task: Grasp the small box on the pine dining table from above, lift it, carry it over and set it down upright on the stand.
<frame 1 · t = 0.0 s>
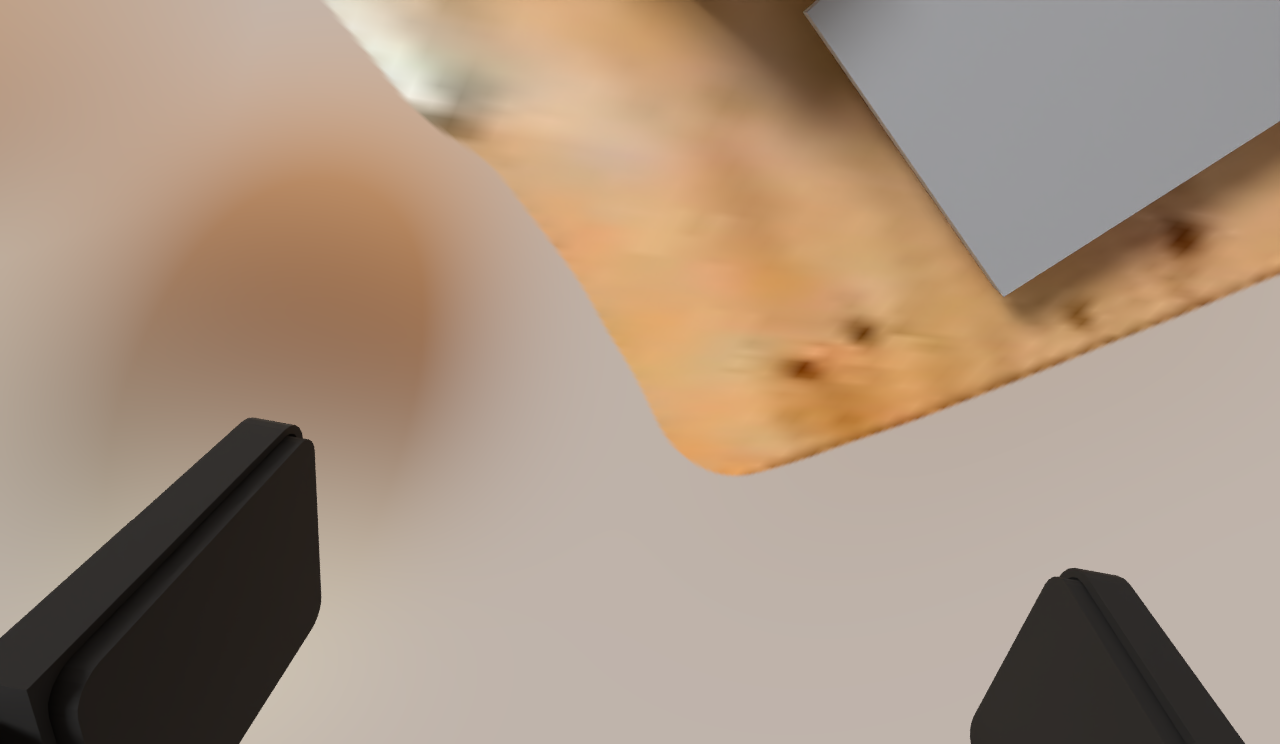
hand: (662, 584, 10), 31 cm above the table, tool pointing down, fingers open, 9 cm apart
stand: (1046, 32, 34), on the table
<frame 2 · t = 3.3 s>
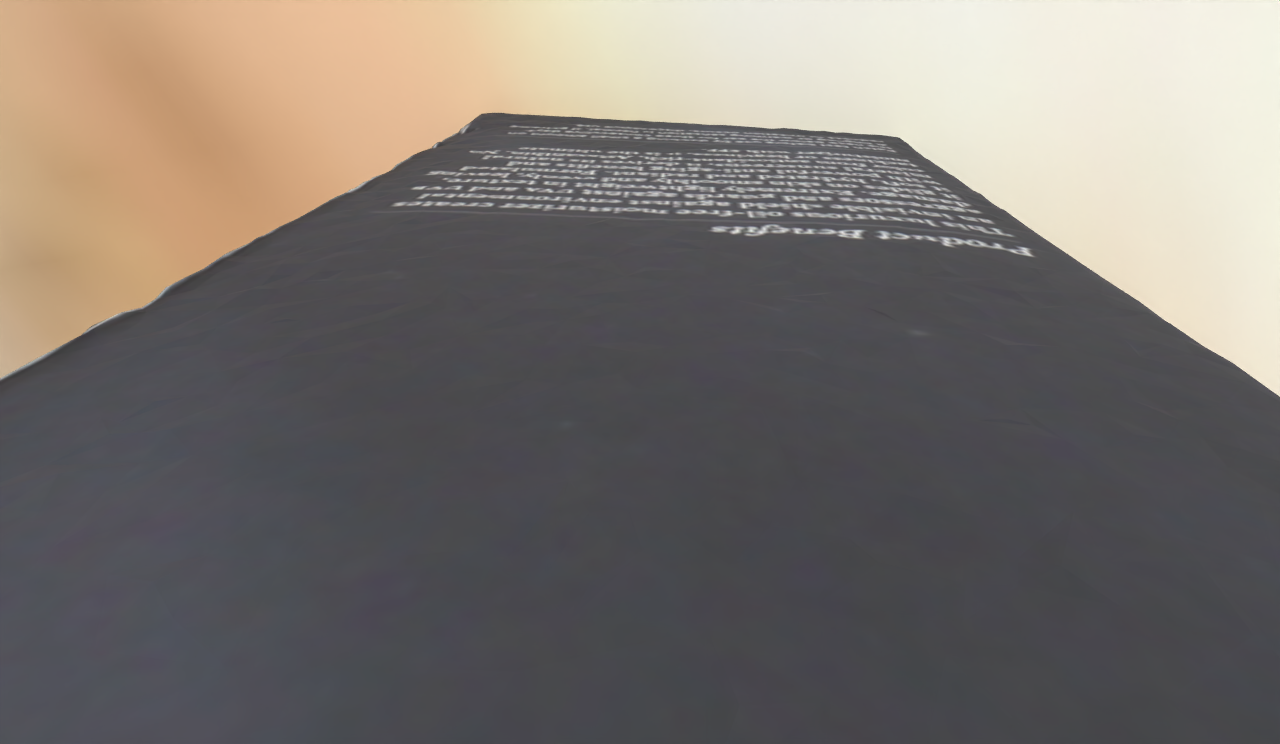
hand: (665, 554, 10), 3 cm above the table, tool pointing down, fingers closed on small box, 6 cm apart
small box: (673, 437, 13), on the table, touching gripper
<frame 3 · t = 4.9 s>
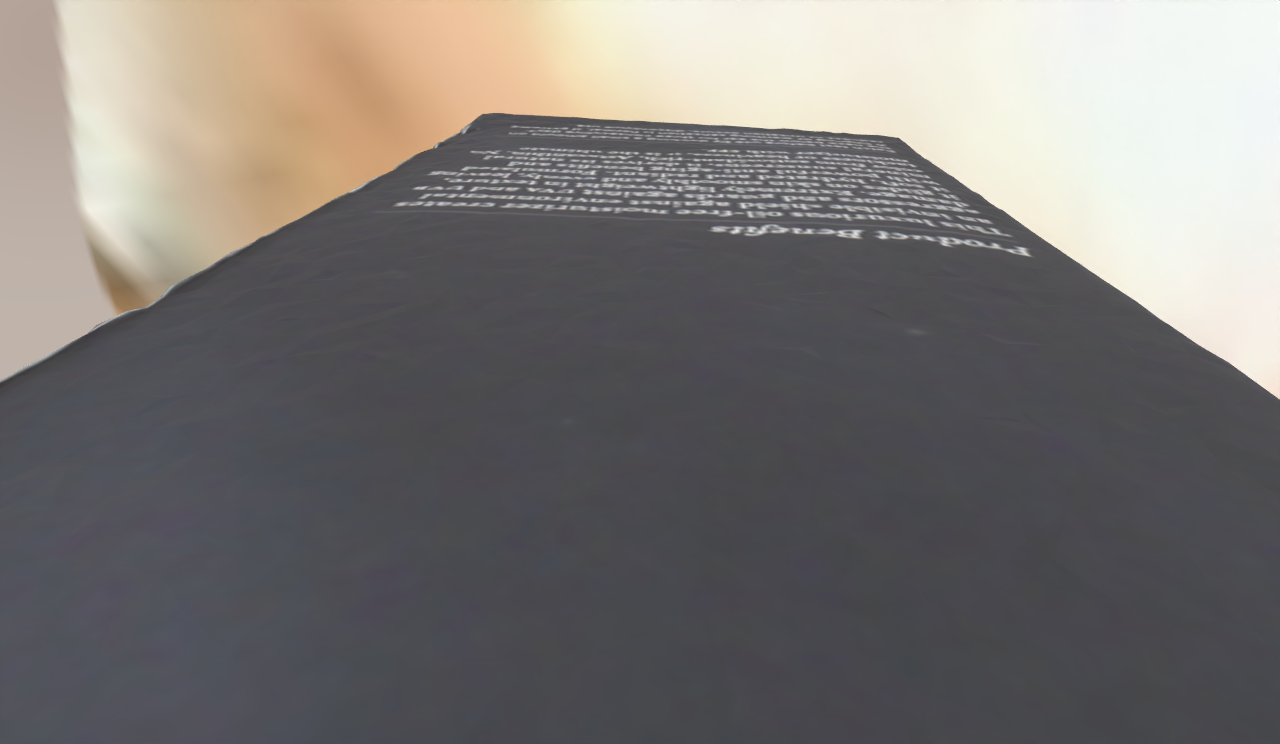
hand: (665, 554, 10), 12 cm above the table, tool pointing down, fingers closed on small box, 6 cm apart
small box: (673, 436, 13), point 9 cm above the table, touching gripper
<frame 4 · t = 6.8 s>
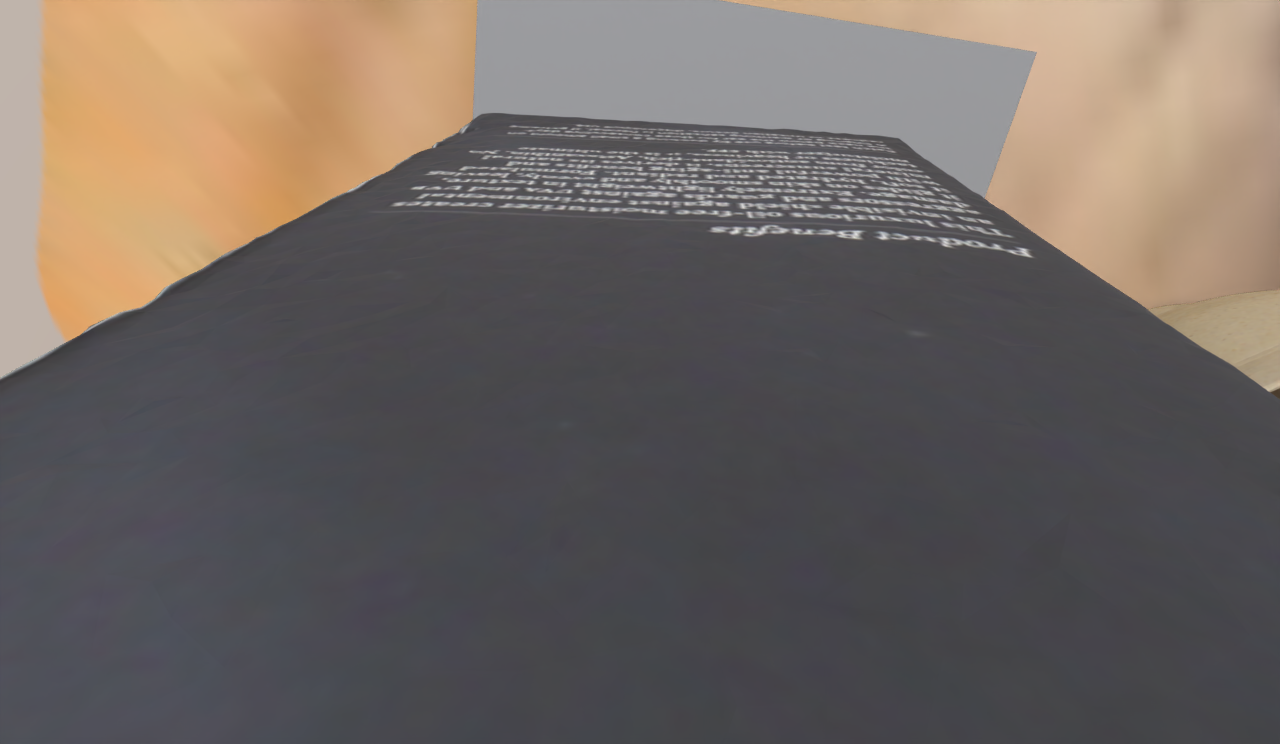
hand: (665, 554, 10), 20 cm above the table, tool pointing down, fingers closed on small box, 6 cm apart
small box: (673, 437, 13), point 17 cm above the table, touching gripper
stand: (705, 237, 28), on the table
planter bowl: (1151, 408, 30), on the table
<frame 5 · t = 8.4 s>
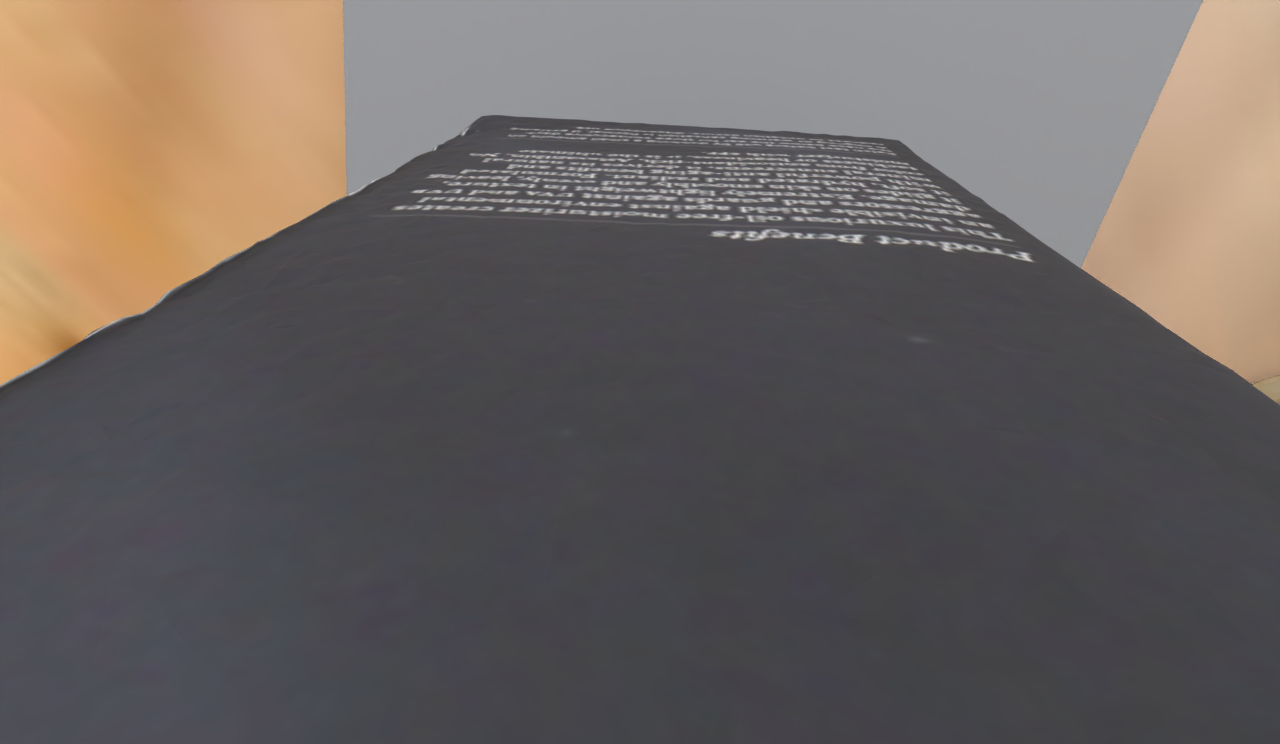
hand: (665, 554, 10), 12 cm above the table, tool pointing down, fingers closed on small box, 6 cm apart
small box: (673, 439, 13), point 9 cm above the table, touching gripper
stand: (691, 264, 21), on the table
planter bowl: (1279, 497, 23), on the table
when the fingers open (8 cm above the table, at t = 10.1 s): small box drops 1 cm, resting on stand.
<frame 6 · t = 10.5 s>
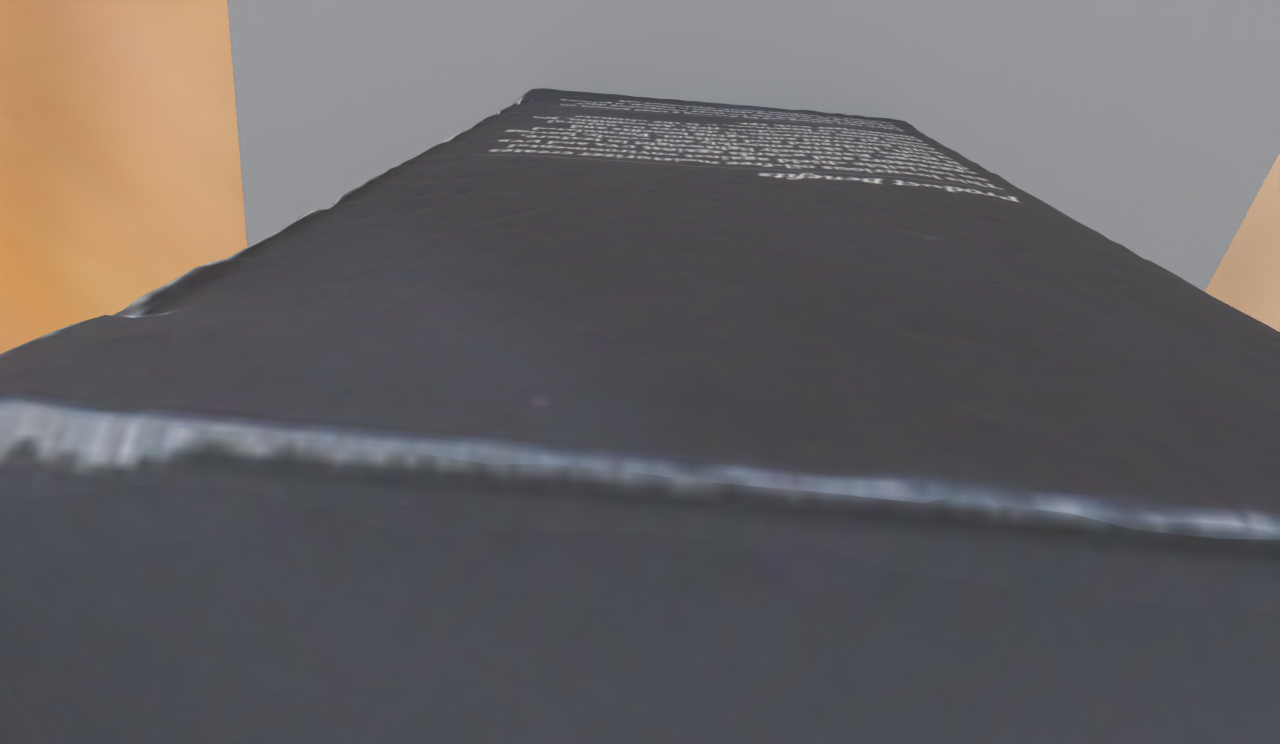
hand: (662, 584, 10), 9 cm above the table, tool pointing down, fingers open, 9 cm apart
small box: (690, 393, 14), point 4 cm above the table, touching stand
stand: (683, 321, 17), on the table
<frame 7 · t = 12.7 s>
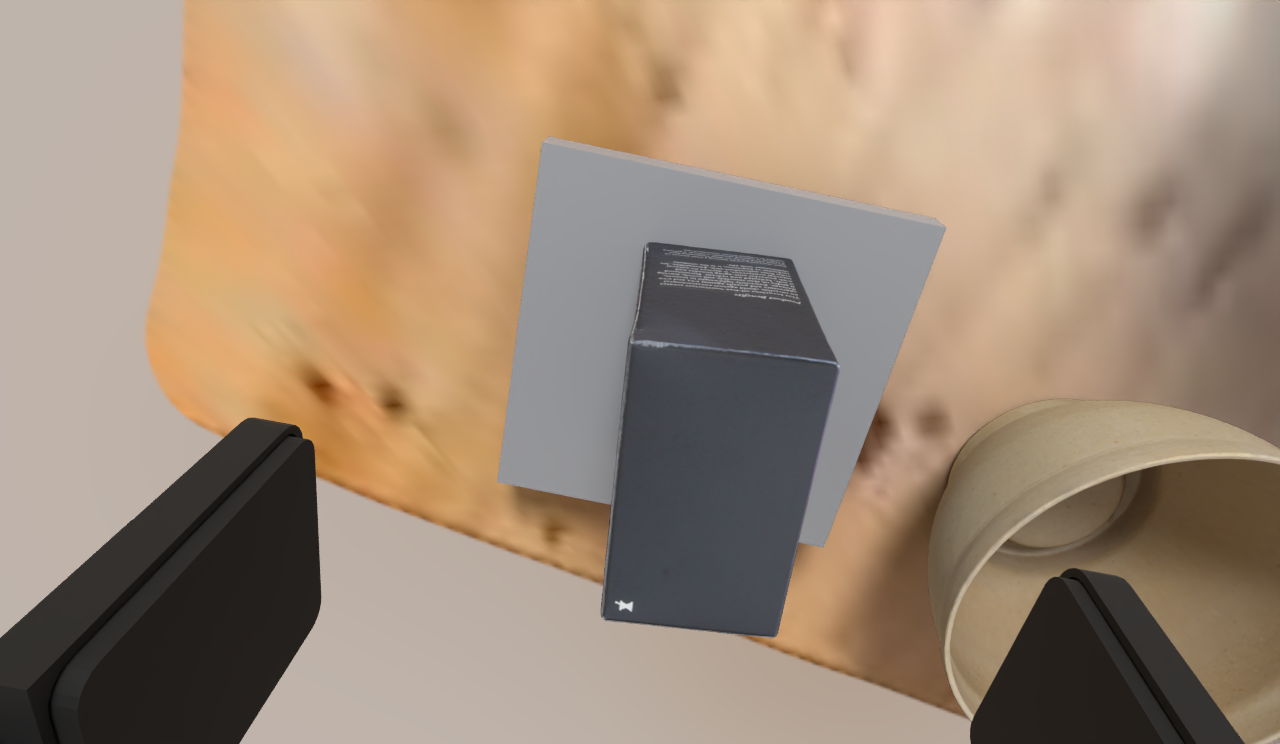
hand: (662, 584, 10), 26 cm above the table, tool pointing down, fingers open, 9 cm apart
small box: (704, 363, 32), point 4 cm above the table, touching stand
stand: (698, 332, 36), on the table
planter bowl: (1042, 475, 38), on the table
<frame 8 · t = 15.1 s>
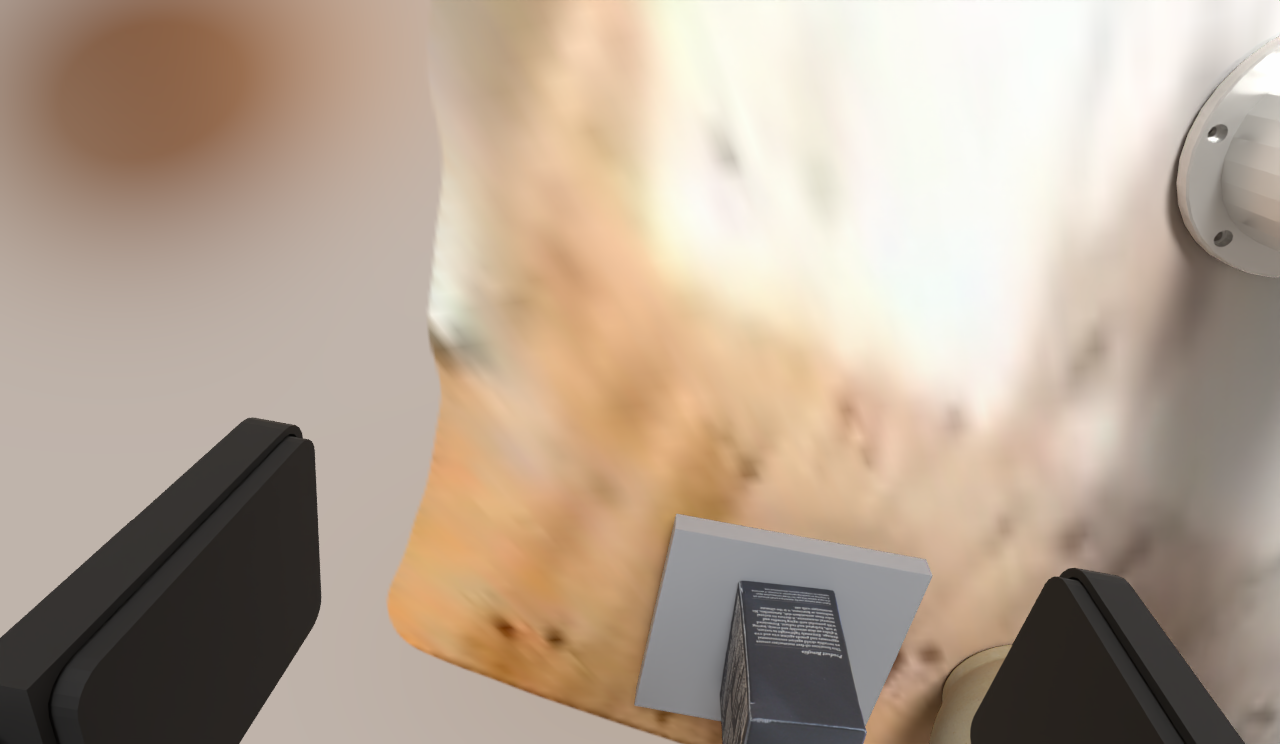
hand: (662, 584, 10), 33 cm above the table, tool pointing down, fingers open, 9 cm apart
small box: (776, 641, 49), point 4 cm above the table, touching stand
stand: (768, 601, 53), on the table
planter bowl: (1009, 686, 55), on the table
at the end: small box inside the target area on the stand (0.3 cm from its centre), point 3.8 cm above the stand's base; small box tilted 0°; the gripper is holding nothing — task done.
